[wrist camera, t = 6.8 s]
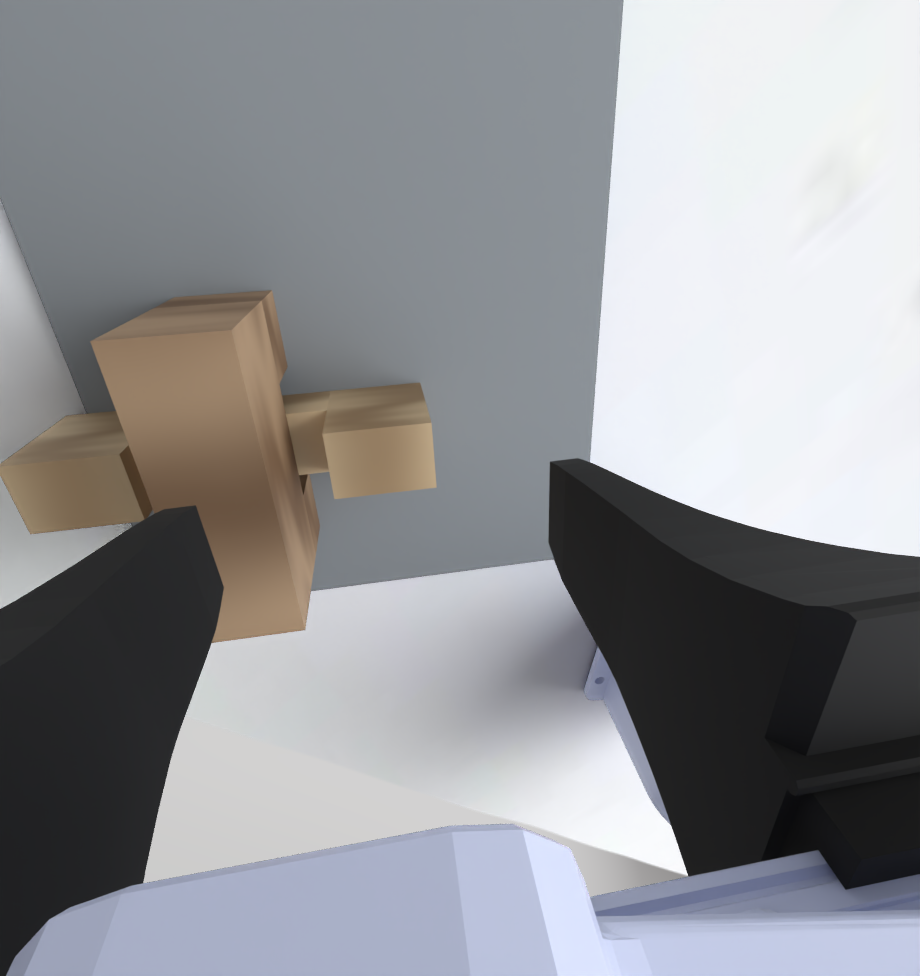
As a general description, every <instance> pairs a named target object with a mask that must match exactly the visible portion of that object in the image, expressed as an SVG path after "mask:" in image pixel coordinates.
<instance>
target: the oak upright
mask: <svg viewBox="0 0 920 976" xmlns="http://www.w3.org/2000/svg"><path fill="white" fill-rule="evenodd" d="M282 398H283V403H284V408H285V412H286V417H287V422H288V426H289V431H290V436H291V440H292V445H293V450H294V454H295V459H296V464H297V468H298V473H299V475H305V474H314V473H323V472H329V473H330V478H331V484H332V489H333V494H334V499H341V498H350V497H359V496H367V495H376V494H385V493H393V492H402V491H411V490H420V489H428V488H437V486H436V473H435V461H434V448H433V435H432V423H431V419H430V416H429V412H428V409H427V405H426V402H425V398H424V394H423V391H422V387H421V384H420V383H410V384H399V385H388V386H378V387H367V388H356V389H346V390H335V391H324V392H314V393H303V394H292V395H282ZM0 476H1V478H2V480H3V482H4V484H5V486H6V488H7V490H8V491H9V493H10V495H11V497H12V499H13V501H14V503H15V505H16V507H17V509H18V511H19V513H20V515H21V517H22V519H23V521H24V523H25V525H26V527H27V529H28V530H29V532H30V534H36V533H45V532H54V531H62V530H71V529H80V528H89V527H97V526H106V525H115V524H123V523H132V522H141V521H143V520H144V519H146V518H147V517H148V516H149V515H150V513H151V512H152V510H153V509H152V506H151V503H150V501H149V498H148V495H147V493H146V490H145V487H144V485H143V482H142V479H141V477H140V474H139V471H138V468H137V466H136V463H135V460H134V458H133V455H132V452H131V450H130V447H129V444H128V442H127V439H126V436H125V434H124V431H123V428H122V425H121V423H120V420H119V417H118V415H117V412H116V411H110V412H100V413H89V414H78V415H68V416H65V417H64V418H63V419H61V420H60V421H58V422H57V423H56V424H54V425H53V426H52V427H50V428H49V429H47V430H46V431H45V432H43V433H42V434H41V435H39V436H38V437H36V438H35V439H34V440H32V441H31V442H30V443H28V444H27V445H25V446H24V447H23V448H21V449H20V450H19V451H17V452H16V453H14V454H13V455H12V456H10V457H9V458H8V459H6V460H5V461H4V462H2V463H1V464H0Z"/></svg>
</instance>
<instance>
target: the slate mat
mask: <svg viewBox="0 0 920 976" xmlns="http://www.w3.org/2000/svg"><path fill="white" fill-rule="evenodd" d="M622 12H623V0H0V199H1V201H2V204H3V206H4V209H5V211H6V214H7V216H8V219H9V221H10V223H11V226H12V228H13V231H14V233H15V236H16V238H17V241H18V243H19V246H20V248H21V251H22V253H23V256H24V258H25V261H26V263H27V266H28V268H29V271H30V273H31V276H32V278H33V281H34V283H35V286H36V288H37V291H38V293H39V296H40V298H41V301H42V303H43V306H44V308H45V311H46V313H47V315H48V318H49V320H50V323H51V325H52V328H53V330H54V333H55V335H56V338H57V340H58V343H59V345H60V348H61V350H62V353H63V355H64V358H65V360H66V363H67V365H68V368H69V370H70V373H71V375H72V378H73V380H74V383H75V385H76V388H77V390H78V393H79V395H80V398H81V400H82V403H83V405H84V408H85V410H86V412H87V414H89V413H100V412H110V411H116V409H115V407H114V404H113V401H112V399H111V396H110V393H109V391H108V388H107V385H106V382H105V380H104V377H103V374H102V372H101V369H100V366H99V364H98V361H97V358H96V356H95V353H94V350H93V348H92V345H91V342H90V341H92V340H94V339H96V338H97V337H99V336H101V335H103V334H105V333H107V332H109V331H111V330H113V329H115V328H117V327H119V326H120V325H122V324H124V323H126V322H128V321H130V320H132V319H134V318H136V317H138V316H140V315H142V314H143V313H145V312H147V311H149V310H151V309H153V308H155V307H157V306H159V305H161V304H163V303H165V302H167V301H168V300H170V299H172V298H174V297H184V296H198V295H212V294H226V293H240V292H254V291H268V290H272V292H273V297H274V302H275V307H276V312H277V317H278V322H279V326H280V331H281V336H282V341H283V346H284V351H285V356H286V361H287V366H288V367H287V369H286V371H285V373H284V375H283V378H282V380H281V382H280V389H281V394H282V395H292V394H303V393H314V392H324V391H335V390H346V389H356V388H367V387H378V386H388V385H399V384H410V383H420V384H421V387H422V391H423V394H424V398H425V402H426V405H427V409H428V412H429V416H430V419H431V423H432V435H433V448H434V461H435V473H436V486H437V488H428V489H420V490H411V491H402V492H393V493H385V494H376V495H367V496H359V497H350V498H341V499H334V494H333V489H332V484H331V478H330V473H329V472H323V473H314V474H310V479H311V484H312V489H313V494H314V499H315V503H316V508H317V513H318V518H319V523H320V530H319V537H318V544H317V551H316V558H315V564H314V571H313V578H312V585H311V591H316V590H323V589H331V588H339V587H346V586H354V585H361V584H369V583H376V582H384V581H392V580H399V579H407V578H414V577H422V576H429V575H437V574H445V573H452V572H460V571H467V570H475V569H482V568H490V567H498V566H505V565H513V564H520V563H528V562H535V561H543V560H550V559H554V557H553V554H552V551H551V549H550V546H549V543H548V536H549V478H550V461H558V460H567V459H575V458H579V459H582V460H585V461H588V462H590V451H591V437H592V424H593V410H594V396H595V382H596V369H597V355H598V341H599V328H600V314H601V300H602V287H603V273H604V259H605V245H606V232H607V218H608V204H609V191H610V177H611V163H612V149H613V136H614V122H615V108H616V95H617V81H618V67H619V54H620V40H621V26H622ZM153 514H154V511H153V510H152V512H151V513H150V515H149V516H151V515H153ZM149 516H148V517H149ZM148 517H147V518H148ZM138 523H139V522H132V523H131V524H132V527H133V526H135V525H136V524H138Z"/></svg>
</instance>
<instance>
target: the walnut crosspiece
mask: <svg viewBox="0 0 920 976" xmlns="http://www.w3.org/2000/svg"><path fill="white" fill-rule="evenodd" d="M90 342H91V345H92V348H93V350H94V353H95V356H96V358H97V361H98V364H99V366H100V369H101V372H102V374H103V377H104V380H105V382H106V385H107V388H108V391H109V393H110V396H111V399H112V401H113V404H114V407H115V409H116V412H117V415H118V417H119V420H120V423H121V425H122V428H123V431H124V434H125V436H126V439H127V442H128V444H129V447H130V450H131V452H132V455H133V458H134V460H135V463H136V466H137V468H138V471H139V474H140V477H141V479H142V482H143V485H144V487H145V490H146V493H147V495H148V498H149V501H150V503H151V506H152V509H153V511H154V514H155V513H157V512H159V511H161V510H163V509H170V508H178V507H186V506H194V505H196V507H197V510H198V513H199V516H200V519H201V522H202V525H203V528H204V531H205V534H206V536H207V539H208V542H209V545H210V548H211V551H212V554H213V557H214V560H215V563H216V565H217V568H218V571H219V574H220V577H221V580H222V583H223V586H224V591H223V596H222V602H221V608H220V613H219V618H218V622H217V627H216V631H215V634H214V637H213V640H212V643H214V642H222V641H229V640H236V639H243V638H250V637H258V636H265V635H272V634H279V633H287V632H294V631H301V630H305V627H306V620H307V613H308V606H309V599H310V592H311V585H312V578H313V571H314V564H315V558H316V551H317V544H318V537H319V530H320V523H319V518H318V513H317V508H316V503H315V499H314V494H313V489H312V484H311V479H310V474H305V475H299V473H298V468H297V464H296V459H295V454H294V450H293V445H292V440H291V436H290V431H289V426H288V422H287V417H286V412H285V408H284V403H283V398H282V394H281V389H280V382H281V380H282V378H283V375H284V373H285V371H286V369H287V367H288V366H287V361H286V356H285V351H284V346H283V341H282V336H281V331H280V326H279V322H278V317H277V312H276V307H275V302H274V297H273V292H272V290H268V291H254V292H240V293H226V294H212V295H198V296H184V297H174V298H172V299H170V300H168V301H167V302H165V303H163V304H161V305H159V306H157V307H155V308H153V309H151V310H149V311H147V312H145V313H143V314H142V315H140V316H138V317H136V318H134V319H132V320H130V321H128V322H126V323H124V324H122V325H120V326H119V327H117V328H115V329H113V330H111V331H109V332H107V333H105V334H103V335H101V336H99V337H97V338H96V339H94V340H92V341H90Z"/></svg>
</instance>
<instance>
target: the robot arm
mask: <svg viewBox="0 0 920 976" xmlns="http://www.w3.org/2000/svg"><path fill="white" fill-rule="evenodd" d="M548 543H549V546H550V549H551V551H552V554H553V557H554V560H555V563H556V565H557V568H558V571H559V573H560V576H561V579H562V581H563V583H564V585H565V587H566V589H567V590H568V592H569V594H570V596H571V598H572V600H573V602H574V604H575V605H576V607H577V609H578V611H579V613H580V615H581V616H582V618H583V620H584V622H585V624H586V626H587V627H588V629H589V631H590V633H591V635H592V637H593V638H594V640H595V642H596V644H597V646H598V647H597V650H596V653H595V657H594V660H593V663H592V666H591V669H590V672H589V675H588V679H587V682H586V685H585V688H584V693H585V695H586V697H587V699H589V700H604V702H605V704H606V706H607V709H608V711H609V713H610V715H611V717H612V719H613V721H614V723H615V726H616V728H617V730H618V732H619V734H620V736H621V738H622V741H623V743H624V745H625V747H626V749H627V751H628V753H629V755H630V758H631V760H632V762H633V764H634V766H635V768H636V770H637V773H638V775H639V777H640V779H641V781H642V783H643V785H644V787H645V790H646V792H647V794H648V796H649V797H650V799H651V801H652V803H653V804H654V806H655V807H656V809H657V810H658V811H659V813H660V814H661V815H662V816H663V817H664V818H665V819H666V820H667V822H668V823H669V824H670V825H671V826H672V829H673V832H674V834H675V837H676V840H677V843H678V846H679V849H680V852H681V855H682V858H683V861H684V864H685V867H686V870H687V873H688V876H689V877H684V878H680V879H675V880H670V881H665V882H660V883H656V884H651V885H646V886H641V887H636V888H631V889H627V890H621V891H616V892H612V893H607V894H602V895H597V896H593V897H590V896H589V893H588V890H587V886H586V883H585V880H584V878H583V876H582V873H581V871H580V869H579V867H578V865H577V862H576V860H575V858H574V855H573V853H572V851H571V849H570V848H568V847H566V846H565V845H563V844H561V843H559V842H556V841H555V840H552V839H549V838H547V837H545V836H542V835H540V834H537V833H534V832H532V831H530V830H527V829H524V828H522V827H519V826H517V825H514V824H491V825H458V826H447V827H441V828H436V829H431V830H426V831H420V832H415V833H409V834H404V835H399V836H393V837H388V838H383V839H377V840H372V841H367V842H362V843H356V844H351V845H345V846H340V847H335V848H330V849H324V850H319V851H313V852H308V853H303V854H297V855H292V856H287V857H281V858H276V859H271V860H265V861H260V862H255V863H249V864H244V865H239V866H234V867H228V868H223V869H217V870H213V871H207V872H201V873H196V874H191V875H185V876H180V877H175V878H169V879H164V880H158V881H153V882H149V883H143V881H144V875H145V870H146V865H147V860H148V856H149V851H150V846H151V842H152V837H153V833H154V828H155V823H156V818H157V814H158V809H159V805H160V801H161V797H162V793H163V789H164V785H165V780H166V776H167V772H168V768H169V764H170V760H171V756H172V753H173V750H174V746H175V743H176V740H177V737H178V734H179V731H180V728H181V725H182V723H183V720H184V717H185V714H186V712H187V709H188V706H189V704H190V701H191V698H192V695H193V693H194V690H195V687H196V684H197V682H198V679H199V676H200V674H201V671H202V668H203V665H204V663H205V660H206V657H207V654H208V651H209V649H210V646H211V643H212V640H213V637H214V634H215V631H216V627H217V622H218V618H219V613H220V608H221V602H222V596H223V591H224V586H223V583H222V580H221V577H220V574H219V571H218V568H217V565H216V563H215V560H214V557H213V554H212V551H211V548H210V545H209V542H208V539H207V536H206V534H205V531H204V528H203V525H202V522H201V519H200V516H199V513H198V510H197V507H196V505H194V506H186V507H178V508H170V509H163V510H161V511H159V512H157V513H155V514H153V515H151V516H149V517H148V518H146V519H144V520H143V521H141V522H139V523H138V524H136V525H135V526H133V527H132V528H130V529H128V530H127V531H125V532H124V533H122V534H121V535H119V536H118V537H116V538H115V539H113V540H112V541H110V542H109V543H107V544H106V545H104V546H102V547H101V548H99V549H98V550H96V551H95V552H93V553H92V554H90V555H89V556H87V557H86V558H84V559H83V560H81V561H80V562H78V563H77V564H75V565H73V566H72V567H70V568H68V569H67V570H65V571H64V572H62V573H60V574H59V575H57V576H55V577H54V578H52V579H51V580H49V581H47V582H46V583H44V584H42V585H41V586H39V587H37V588H36V589H34V590H33V591H31V592H29V593H28V594H26V595H24V596H23V597H21V598H19V599H18V600H16V601H14V602H12V603H11V604H9V605H7V606H5V607H3V608H1V609H0V976H920V557H915V556H905V555H895V554H887V553H880V552H874V551H867V550H861V549H854V548H848V547H842V546H836V545H830V544H825V543H820V542H814V541H809V540H805V539H800V538H796V537H792V536H787V535H783V534H779V533H774V532H770V531H766V530H762V529H758V528H755V527H751V526H747V525H744V524H741V523H737V522H734V521H731V520H728V519H724V518H721V517H718V516H715V515H712V514H709V513H706V512H703V511H700V510H698V509H695V508H692V507H690V506H687V505H685V504H682V503H680V502H677V501H675V500H672V499H670V498H667V497H665V496H662V495H660V494H658V493H655V492H653V491H651V490H649V489H646V488H644V487H642V486H640V485H638V484H636V483H633V482H631V481H629V480H627V479H625V478H623V477H621V476H619V475H616V474H614V473H612V472H610V471H608V470H606V469H604V468H602V467H599V466H597V465H595V464H593V463H590V462H588V461H585V460H582V459H579V458H575V459H567V460H558V461H550V478H549V536H548ZM598 677H599V678H598Z"/></svg>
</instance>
